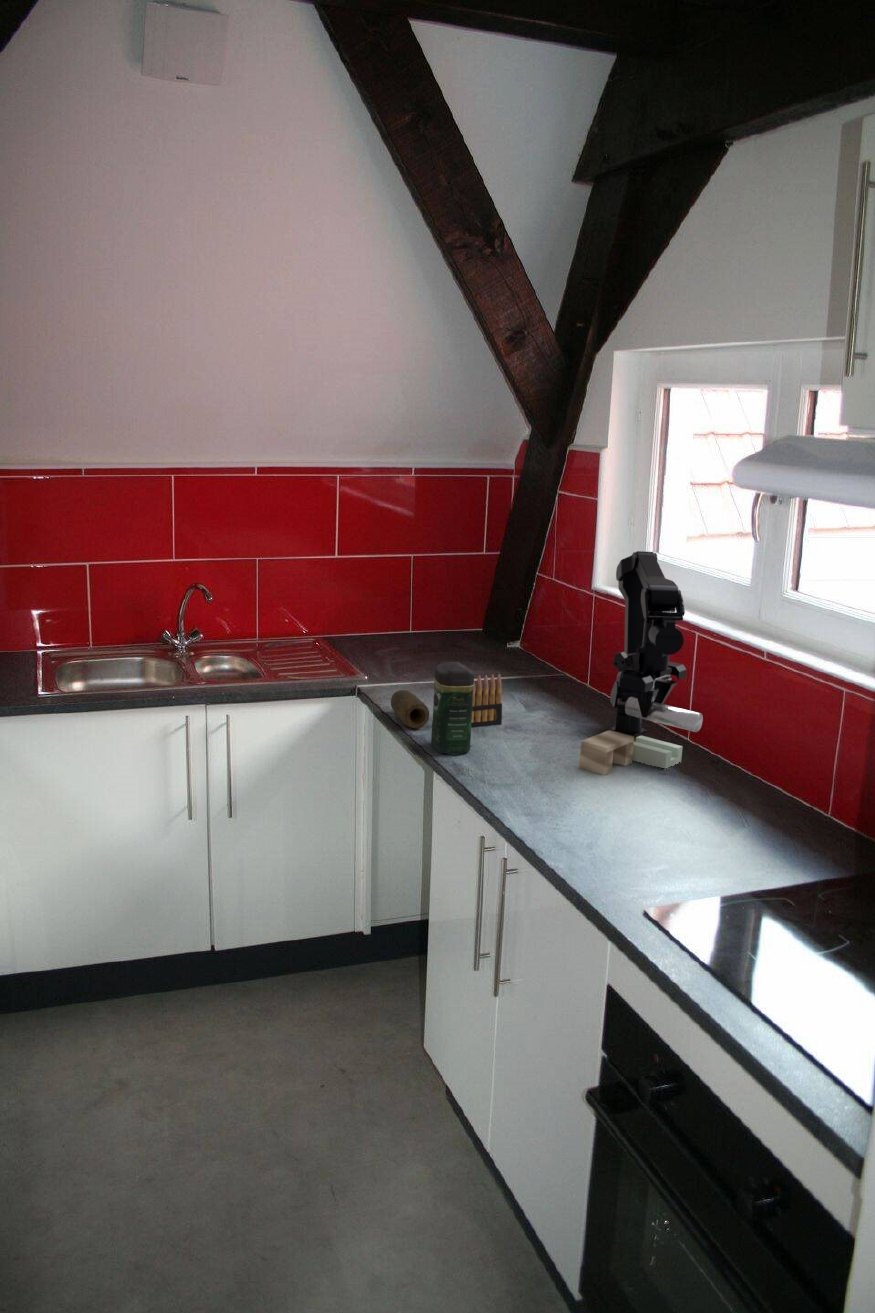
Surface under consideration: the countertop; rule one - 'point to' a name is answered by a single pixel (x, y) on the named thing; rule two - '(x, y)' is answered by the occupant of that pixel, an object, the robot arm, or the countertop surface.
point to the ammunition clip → (487, 703)
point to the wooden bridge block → (606, 751)
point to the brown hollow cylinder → (409, 709)
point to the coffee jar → (452, 708)
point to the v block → (656, 752)
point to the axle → (667, 715)
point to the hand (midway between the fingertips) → (649, 715)
